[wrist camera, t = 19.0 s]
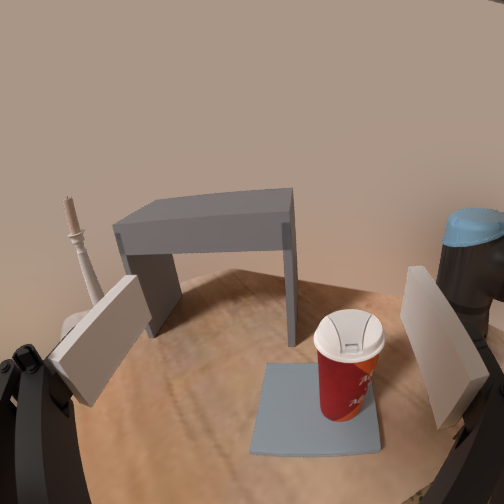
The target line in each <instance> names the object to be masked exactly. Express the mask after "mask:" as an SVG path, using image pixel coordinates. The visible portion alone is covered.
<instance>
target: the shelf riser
mask: <svg viewBox="0 0 504 504" xmlns="http://www.w3.org/2000/svg"><path fill="white" fill-rule="evenodd" d="M113 230H114V233H115V237H116V241H117V245H118V248H119V251H120V255H121V259H122V262H123V265H124V268H125V272H126V275H137V276H138V279H139V283H140V285H141V288H142V291H143V294H144V297H145V300H146V303H147V306H148V308H149V311H150V314H151V316H152V319H151V320H150V321H149V323H148V324H147V326H146V327H145V329H146V331H147V334H148V336H149V338H154V337H155V336H156V334H157V333H158V331H159V330H160V328H161V327H162V325H163V324H164V322H165V321H166V319H167V318H168V316H169V315H170V313H171V312H172V310H173V309H174V307H175V306H176V304H177V303H178V301H179V300H180V298H181V297H182V292H181V288H180V284H179V281H178V276H177V273H176V268H175V264H174V260H173V256H172V254H178V253H209V252H242V251H271V250H272V251H274V250H283V257H284V273H285V290H286V308H287V329H288V347H295V343H296V328H297V310H298V275H297V252H296V232H295V215H294V200H293V188H283V189H282V188H281V189H266V190H250V191H237V192H226V193H215V194H204V195H195V196H186V197H177V198H169V199H160V200H156V201H154V202H152V203H150V204H148V205H146V206H144V207H142V208H141V209H139V210H137V211H135V212H134V213H132V214H130V215H128V216H127V217H125V218H124V219H122V220H120V221H118V222H117V223H115V224H113Z"/></svg>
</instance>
